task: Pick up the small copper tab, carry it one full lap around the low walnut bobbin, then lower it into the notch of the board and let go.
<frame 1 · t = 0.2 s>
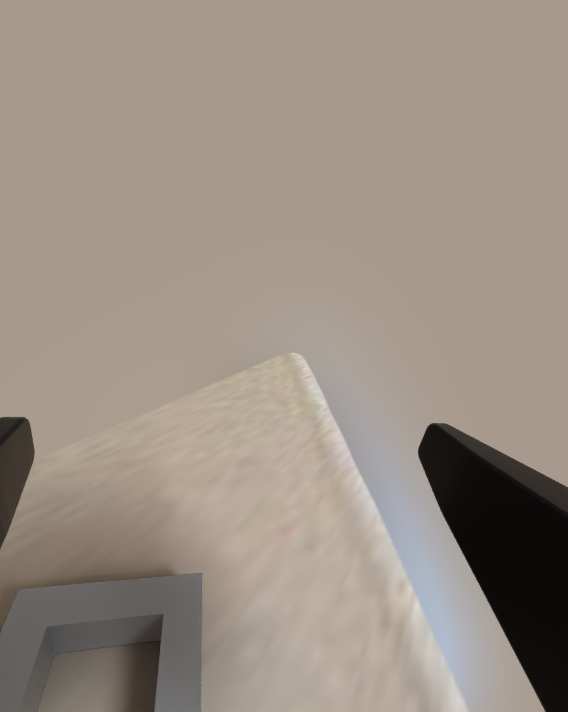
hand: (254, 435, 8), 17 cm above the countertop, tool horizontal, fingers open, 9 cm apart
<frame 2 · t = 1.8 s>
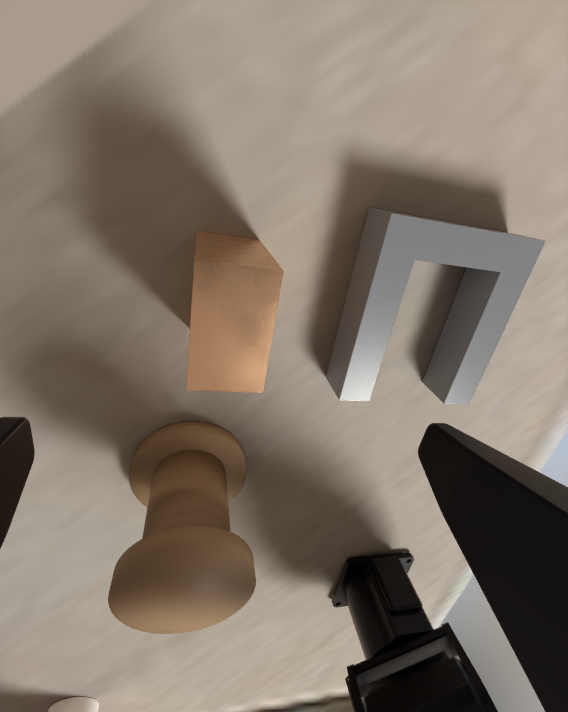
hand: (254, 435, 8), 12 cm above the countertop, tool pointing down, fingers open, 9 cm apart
board: (407, 322, 21), on the countertop
tab: (223, 286, 18), on the countertop
bobbin: (190, 465, 23), on the countertop
tube: (74, 705, 34), on the countertop
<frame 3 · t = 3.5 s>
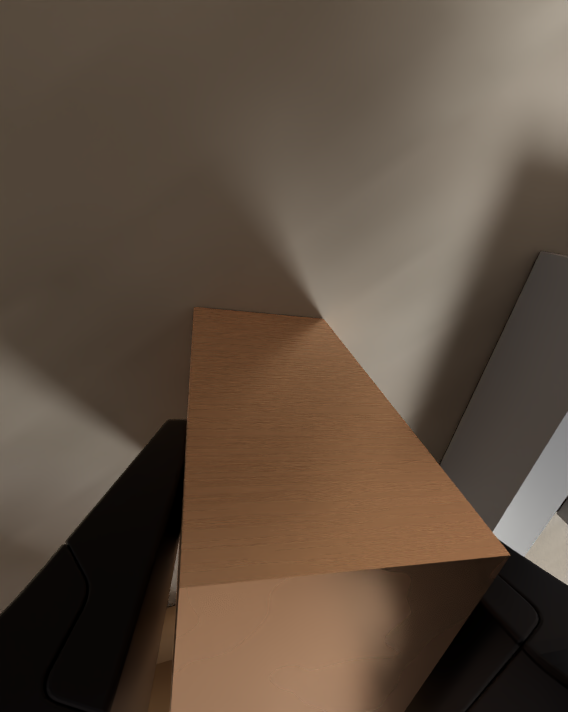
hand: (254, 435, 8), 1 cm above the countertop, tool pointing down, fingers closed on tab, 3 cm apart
board: (558, 436, 12), on the countertop
tab: (247, 404, 9), on the countertop, touching gripper
bobbin: (184, 656, 14), on the countertop
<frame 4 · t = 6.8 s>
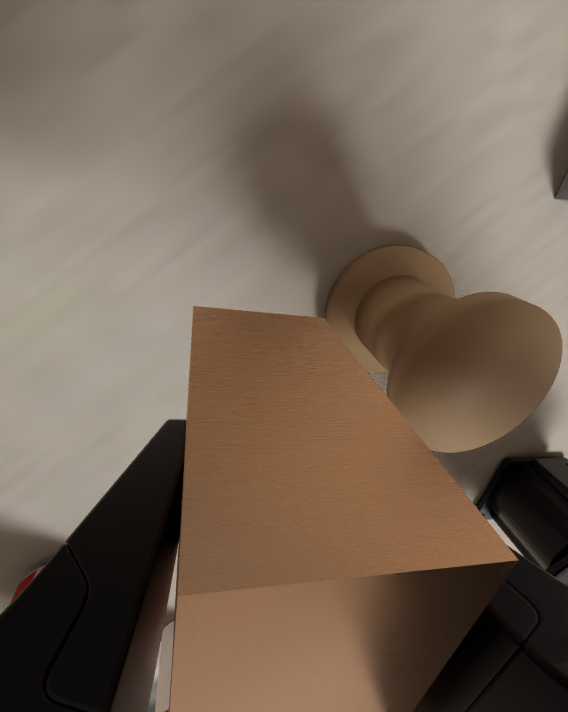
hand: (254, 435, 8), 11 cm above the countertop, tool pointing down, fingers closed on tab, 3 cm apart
tab: (248, 404, 9), point 10 cm above the countertop, touching gripper
bobbin: (385, 309, 20), on the countertop
tube: (188, 627, 31), on the countertop
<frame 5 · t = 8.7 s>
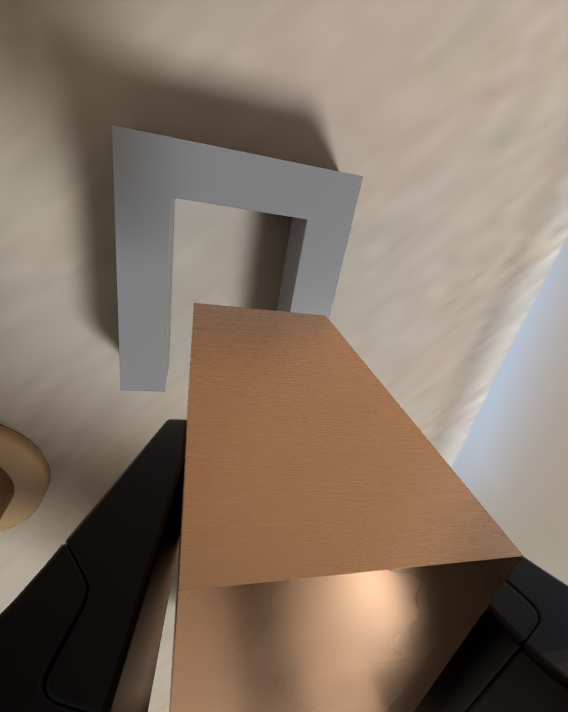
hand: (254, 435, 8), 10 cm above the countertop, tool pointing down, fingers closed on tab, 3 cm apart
board: (226, 293, 17), on the countertop
tab: (248, 402, 9), point 9 cm above the countertop, touching gripper
when the fingers open (3 cm above the countertop, at t = 10.1 s): tab drops 2 cm, resting in board.
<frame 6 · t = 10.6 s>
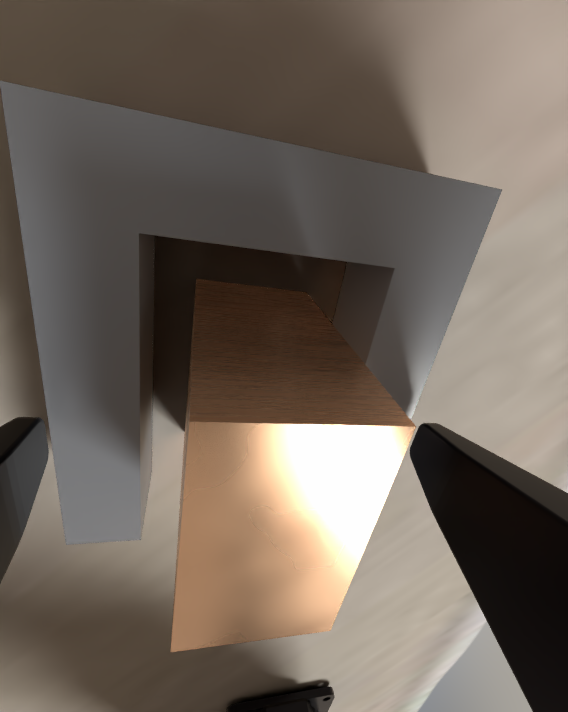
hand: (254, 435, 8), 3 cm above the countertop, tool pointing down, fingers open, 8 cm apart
board: (241, 369, 11), on the countertop
tab: (241, 366, 11), resting in board
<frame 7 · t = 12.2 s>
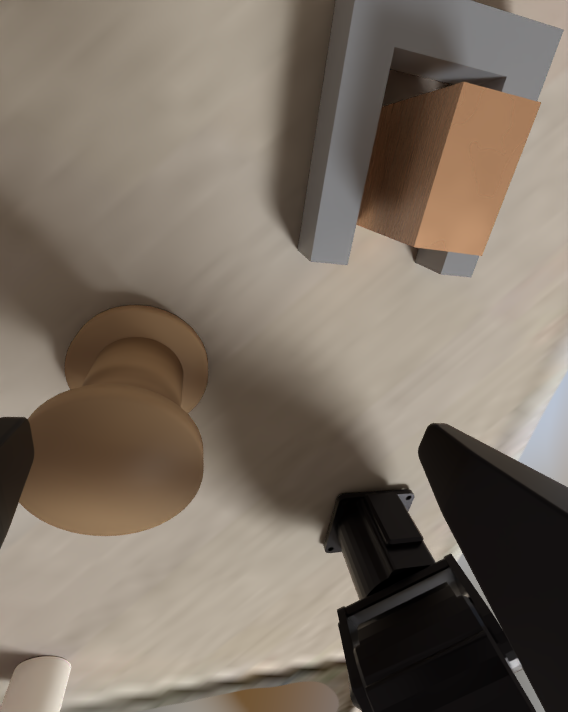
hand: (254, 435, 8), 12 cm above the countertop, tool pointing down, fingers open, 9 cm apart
board: (394, 176, 18), on the countertop
tab: (394, 174, 18), resting in board
bobbin: (142, 365, 20), on the countertop
tube: (44, 667, 31), on the countertop
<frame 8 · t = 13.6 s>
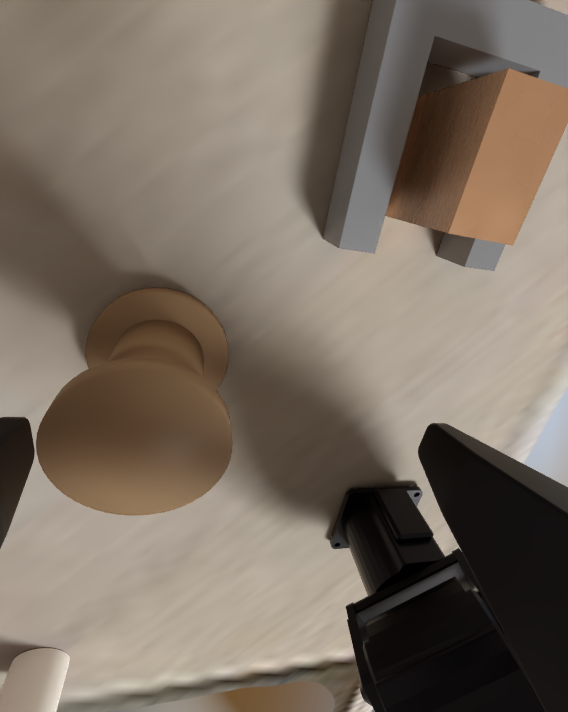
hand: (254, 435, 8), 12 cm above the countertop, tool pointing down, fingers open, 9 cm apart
board: (421, 168, 18), on the countertop
tab: (421, 166, 18), resting in board
bobbin: (162, 350, 20), on the countertop
tube: (42, 659, 30), on the countertop
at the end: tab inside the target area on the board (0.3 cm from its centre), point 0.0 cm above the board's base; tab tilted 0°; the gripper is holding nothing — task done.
